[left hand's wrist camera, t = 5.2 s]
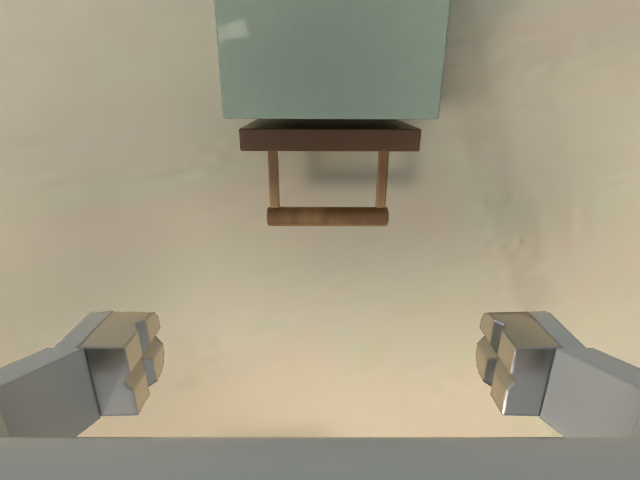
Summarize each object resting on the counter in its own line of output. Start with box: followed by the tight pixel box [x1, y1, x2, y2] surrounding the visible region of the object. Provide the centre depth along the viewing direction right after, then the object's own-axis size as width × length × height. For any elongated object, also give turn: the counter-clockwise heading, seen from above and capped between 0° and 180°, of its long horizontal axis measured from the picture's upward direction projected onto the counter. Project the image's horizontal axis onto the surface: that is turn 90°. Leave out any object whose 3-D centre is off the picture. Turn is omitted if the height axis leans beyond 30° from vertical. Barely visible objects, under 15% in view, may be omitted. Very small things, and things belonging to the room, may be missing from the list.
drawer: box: [239, 119, 421, 226], centre depth 25 cm, size 24×10×8 cm, turn 0°
